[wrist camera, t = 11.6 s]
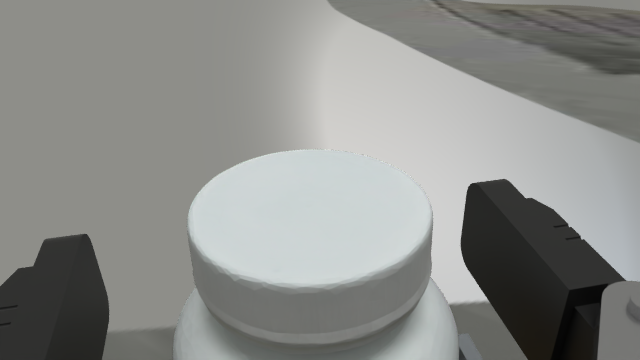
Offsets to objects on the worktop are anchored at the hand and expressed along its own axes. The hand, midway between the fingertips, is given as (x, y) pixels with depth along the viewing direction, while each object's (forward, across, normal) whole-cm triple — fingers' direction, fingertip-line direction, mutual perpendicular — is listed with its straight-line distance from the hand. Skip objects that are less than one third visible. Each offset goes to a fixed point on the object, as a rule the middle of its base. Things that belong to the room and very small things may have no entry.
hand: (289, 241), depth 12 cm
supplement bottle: (-2, 0, +8) cm, 8 cm away
